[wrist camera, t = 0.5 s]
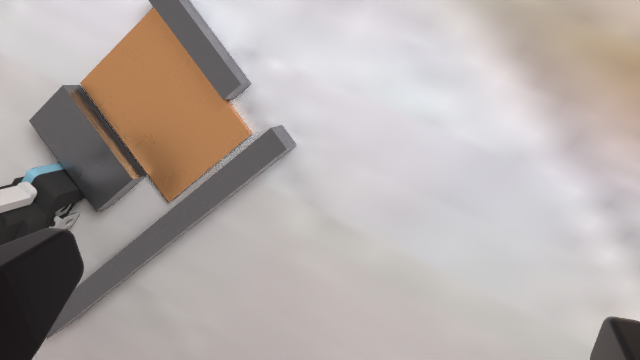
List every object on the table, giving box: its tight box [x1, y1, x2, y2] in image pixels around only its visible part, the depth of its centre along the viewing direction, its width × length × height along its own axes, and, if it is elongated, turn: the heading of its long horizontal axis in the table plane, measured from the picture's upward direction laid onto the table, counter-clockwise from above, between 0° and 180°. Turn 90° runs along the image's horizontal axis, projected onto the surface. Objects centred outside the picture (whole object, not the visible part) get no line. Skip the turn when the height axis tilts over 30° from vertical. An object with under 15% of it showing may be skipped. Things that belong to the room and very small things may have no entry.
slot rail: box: [29, 0, 296, 339], centre depth 26 cm, size 19×10×2 cm, turn 128°
